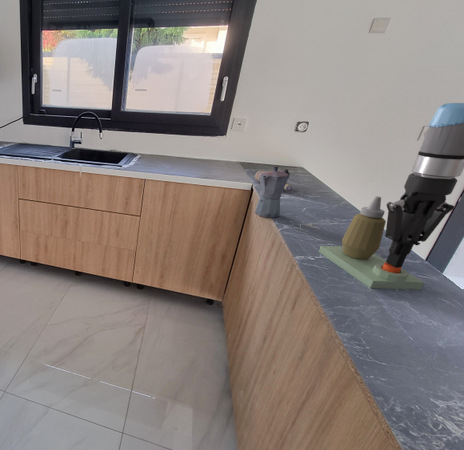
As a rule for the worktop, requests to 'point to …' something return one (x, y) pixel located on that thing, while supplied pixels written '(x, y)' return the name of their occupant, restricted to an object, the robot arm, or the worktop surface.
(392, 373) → the worktop surface
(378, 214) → the squeeze bottle
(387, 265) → the switch
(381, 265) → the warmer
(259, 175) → the decorative bottle
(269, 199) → the moka pot
